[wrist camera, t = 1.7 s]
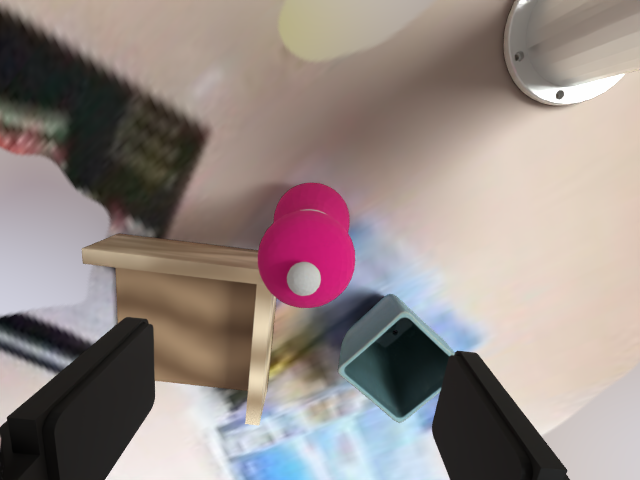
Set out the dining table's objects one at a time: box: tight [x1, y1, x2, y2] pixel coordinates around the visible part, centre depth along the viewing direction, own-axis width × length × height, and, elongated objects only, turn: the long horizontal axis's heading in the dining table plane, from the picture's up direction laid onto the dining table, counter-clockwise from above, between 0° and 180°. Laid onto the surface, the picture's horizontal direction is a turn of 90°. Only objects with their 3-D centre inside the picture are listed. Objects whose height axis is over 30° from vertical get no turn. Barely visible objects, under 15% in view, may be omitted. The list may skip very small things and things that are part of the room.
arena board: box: [116, 234, 277, 391], centre depth 38 cm, size 18×18×1 cm
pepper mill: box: [258, 183, 355, 308], centre depth 26 cm, size 7×7×20 cm
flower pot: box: [338, 294, 455, 423], centre depth 35 cm, size 9×9×9 cm
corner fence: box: [82, 235, 276, 425], centre depth 36 cm, size 18×18×5 cm
